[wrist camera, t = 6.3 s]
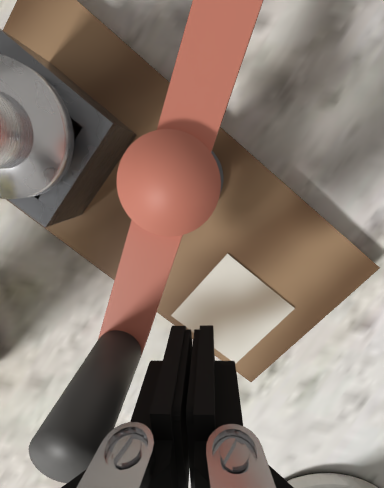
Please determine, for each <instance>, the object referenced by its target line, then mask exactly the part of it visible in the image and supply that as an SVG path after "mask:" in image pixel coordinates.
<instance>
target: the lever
mask: <svg viewBox="0 0 384 488" xmlns="http://www.w3.org/2000/svg"><path fill="white" fill-rule="evenodd" d="M262 3H263V0H193V2H192V5H191V9H190V13H189V16H188V20H187V23H186V27H185V30H184V34H183V38H182V41H181V45H180V48H179V52H178V56H177V59H176V63H175V66H174V70H173V73H172V77H171V81H170V84H169V88H168V91H167V95H166V98H165V102H164V106H163V109H162V113H161V116H160V120H159V124H158V127H157V130H155V131H152V132H149V133H147V134H144V135H142V136H141V137H139V138H138V139H137V140H135V141H134V142H133V143H132V144H131V145H130V146H129V147H128V149H127V150H126V152H125V153H124V155H123V157H122V159H121V161H120V164H119V167H118V171H117V191H118V196H119V199H120V202H121V204H122V206H123V208H124V210H125V212H126V213H127V215H128V216H129V217H130V218H131V219H132V220H131V224H130V227H129V231H128V234H127V238H126V242H125V245H124V249H123V252H122V256H121V260H120V263H119V267H118V270H117V274H116V277H115V281H114V285H113V288H112V292H111V295H110V299H109V302H108V306H107V310H106V313H105V317H104V320H103V324H102V328H101V331H100V335H99V338H98V341H97V343H96V344H95V346H94V347H93V349H92V350H91V352H90V353H89V355H88V356H87V358H86V359H85V361H84V362H83V364H82V365H81V367H80V368H79V370H78V371H77V373H76V374H75V376H74V377H73V379H72V380H71V382H70V383H69V385H68V386H67V388H66V389H65V391H64V392H63V394H62V395H61V397H60V398H59V400H58V401H57V403H56V404H55V406H54V407H53V409H52V410H51V412H50V413H49V415H48V416H47V418H46V419H45V421H44V422H43V424H42V425H41V427H40V428H39V430H38V431H37V433H36V434H35V436H34V437H33V439H32V440H31V442H30V445H29V455H30V458H31V460H32V462H33V464H34V465H35V467H36V468H37V469H38V470H39V471H40V472H41V473H43V474H44V475H46V476H47V477H49V478H51V479H53V480H56V481H59V482H63V483H68V482H70V481H71V480H72V479H74V478H75V477H76V476H78V475H79V474H80V473H82V472H83V471H85V470H86V469H87V468H88V466H89V464H90V462H91V461H92V459H93V457H94V455H95V453H96V452H97V450H98V448H99V446H100V444H101V443H102V441H103V440H104V438H105V437H106V436H107V434H108V433H109V432H111V431H112V430H113V429H114V427H115V424H116V421H117V419H118V416H119V413H120V411H121V408H122V405H123V403H124V400H125V397H126V395H127V392H128V389H129V387H130V384H131V382H132V379H133V376H134V374H135V371H136V368H137V366H138V363H139V360H140V358H141V355H142V352H143V350H144V347H145V344H146V342H147V339H148V336H149V333H150V330H151V327H152V324H153V321H154V318H155V315H156V312H157V309H158V306H159V304H160V301H161V298H162V295H163V292H164V289H165V286H166V283H167V280H168V277H169V274H170V271H171V269H172V266H173V263H174V260H175V257H176V254H177V251H178V248H179V245H180V242H181V239H182V236H183V235H184V234H187V233H190V232H192V231H194V230H196V229H197V228H199V227H200V226H201V225H203V224H204V223H205V222H206V221H207V220H208V219H209V217H210V216H211V215H212V213H213V211H214V210H215V208H216V205H217V203H218V200H219V196H220V190H221V179H220V172H219V168H218V165H217V163H216V160H215V158H214V157H213V155H212V153H211V152H212V149H213V146H214V143H215V140H216V137H217V134H218V131H219V128H220V125H221V122H222V120H223V117H224V114H225V111H226V108H227V105H228V102H229V99H230V96H231V93H232V90H233V87H234V85H235V82H236V79H237V76H238V73H239V70H240V67H241V64H242V61H243V58H244V55H245V52H246V49H247V47H248V44H249V41H250V38H251V35H252V32H253V29H254V26H255V23H256V20H257V17H258V14H259V11H260V9H261V6H262Z"/></svg>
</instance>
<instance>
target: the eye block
mask: <svg viewBox="0 0 384 488" xmlns="http://www.w3.org/2000/svg"><path fill="white" fill-rule="evenodd" d="M0 54H1V55H5V56H8V57H10V58H13V59H15V60H17V61H18V62H20V63H22V64H24V65H26V66H27V67H29V68H31V69H33V70H34V71H36V72H37V73H39V74H40V75H41V76H43V77H44V78H45V79H46V80H47V81H48V82H49V83H50V84H51V85H52V86H53V87H54V88H55V89H56V91H57V92H58V94H59V95H60V97H61V98H62V100H63V102H64V103H65V105H66V107H67V110H68V112H69V115H70V117H71V118H72V119H73V120H74V121H76V122H77V123H78V124H79V125H80V126H82V127H83V128H82V129H81V131H80V133H79V134H78V136H77V137H76V139H75V141H74V150H73V156H72V160H71V163H70V166H69V168H68V170H67V172H66V174H65V175H64V177H63V178H62V179H61V181H60V182H59V183H58V184H57V185H56V186H55V187H53V188H52V189H51V190H49V191H47V192H45V193H43V194H40V195H37V196H33V197H27V198H20V199H8V200H9V201H10V202H12V203H13V204H14V205H16V206H17V207H18V208H20V209H21V210H22V211H24V212H25V213H26V214H28V215H29V216H30V217H32V218H33V219H34V220H36V221H37V222H38V223H40V224H41V225H42V226H44V227H48V226H51V225H54V224H57V223H60V222H63V221H66V220H69V219H72V218H75V217H77V216H80V215H82V214H83V213H84V211H85V210H86V208H87V207H88V206H89V204H90V203H91V201H92V200H93V198H94V197H95V195H96V194H97V192H98V191H99V190H100V188H101V187H102V185H103V184H104V182H105V181H106V179H107V178H108V176H109V175H110V173H111V172H112V171H113V169H114V168H115V166H116V165H117V163H118V162H119V160H120V159H121V157H122V156H123V155H124V153H125V152H126V150H127V149H128V147H129V146H130V144H131V143H132V141H133V140H134V139H135V137H136V136H137V135H136V134H135V133H134V132H133V131H131V130H130V129H129V128H128V127H127V126H125V125H124V124H123V123H122V122H121V121H119V120H118V119H117V118H116V117H115V116H114V115H112V114H111V113H110V112H109V111H108V110H106V109H105V108H104V107H103V106H102V105H100V104H99V103H98V102H97V101H96V100H94V99H93V98H92V97H91V96H90V95H88V94H87V93H86V92H85V91H84V90H82V89H81V88H80V87H79V86H78V85H76V84H75V83H74V82H73V81H72V80H70V79H69V78H68V77H67V76H66V75H65V74H63V73H62V72H61V71H60V70H59V69H57V68H56V67H55V66H54V65H53V64H51V63H50V62H49V61H47V60H46V59H44V58H43V57H41V56H40V55H39V54H37V53H36V52H34V51H33V50H31V49H30V48H28V47H27V46H25V45H24V44H22V43H21V42H19V41H18V40H16V39H15V38H13V37H12V36H10V35H9V34H7V33H6V32H4V31H3V30H1V29H0Z"/></svg>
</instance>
